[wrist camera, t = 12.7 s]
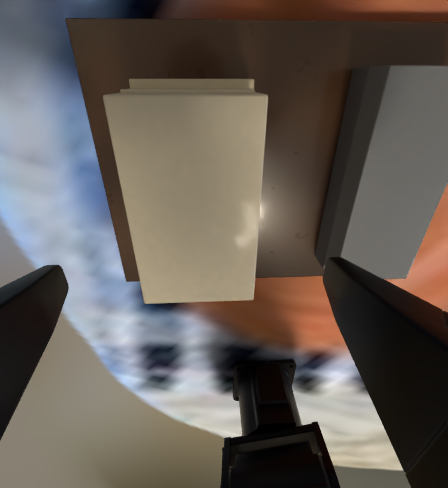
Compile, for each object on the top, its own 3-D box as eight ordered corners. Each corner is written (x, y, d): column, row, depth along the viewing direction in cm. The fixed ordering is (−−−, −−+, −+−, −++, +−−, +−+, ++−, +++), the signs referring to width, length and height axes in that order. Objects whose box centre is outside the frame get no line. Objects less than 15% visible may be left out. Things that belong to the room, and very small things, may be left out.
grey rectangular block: (378, 253, 21) (407, 283, 18) (314, 255, 21) (332, 286, 18) (442, 68, 15) (503, 65, 12) (352, 68, 15) (390, 64, 12)
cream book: (248, 276, 17) (253, 300, 15) (151, 279, 17) (144, 304, 15) (259, 92, 12) (269, 94, 10) (119, 92, 12) (101, 94, 10)
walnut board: (392, 265, 23) (401, 273, 22) (130, 272, 22) (126, 281, 21) (485, 26, 15) (505, 22, 14) (75, 22, 14) (64, 17, 13)
